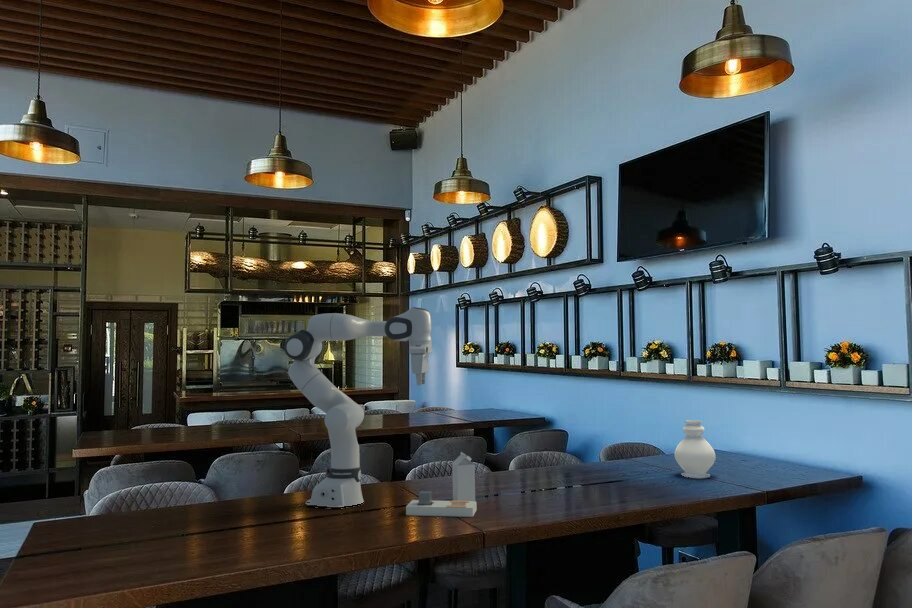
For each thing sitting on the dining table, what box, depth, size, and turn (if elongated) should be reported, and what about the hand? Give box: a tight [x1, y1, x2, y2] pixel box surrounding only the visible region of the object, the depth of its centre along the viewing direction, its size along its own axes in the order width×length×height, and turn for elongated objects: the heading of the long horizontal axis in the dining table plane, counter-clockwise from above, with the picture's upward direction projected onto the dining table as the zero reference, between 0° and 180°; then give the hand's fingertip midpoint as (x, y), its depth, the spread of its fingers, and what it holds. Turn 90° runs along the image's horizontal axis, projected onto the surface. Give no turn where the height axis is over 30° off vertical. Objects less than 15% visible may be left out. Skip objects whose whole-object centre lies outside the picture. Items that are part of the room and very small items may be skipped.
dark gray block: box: [418, 490, 433, 505], centre depth 239 cm, size 4×4×7 cm
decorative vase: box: [673, 419, 717, 479], centre depth 304 cm, size 18×18×25 cm
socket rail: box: [405, 499, 478, 518], centre depth 238 cm, size 24×10×4 cm, turn 81°
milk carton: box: [451, 451, 476, 501], centre depth 258 cm, size 7×7×19 cm
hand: (420, 384), depth 256 cm, fingers open, 8 cm apart
